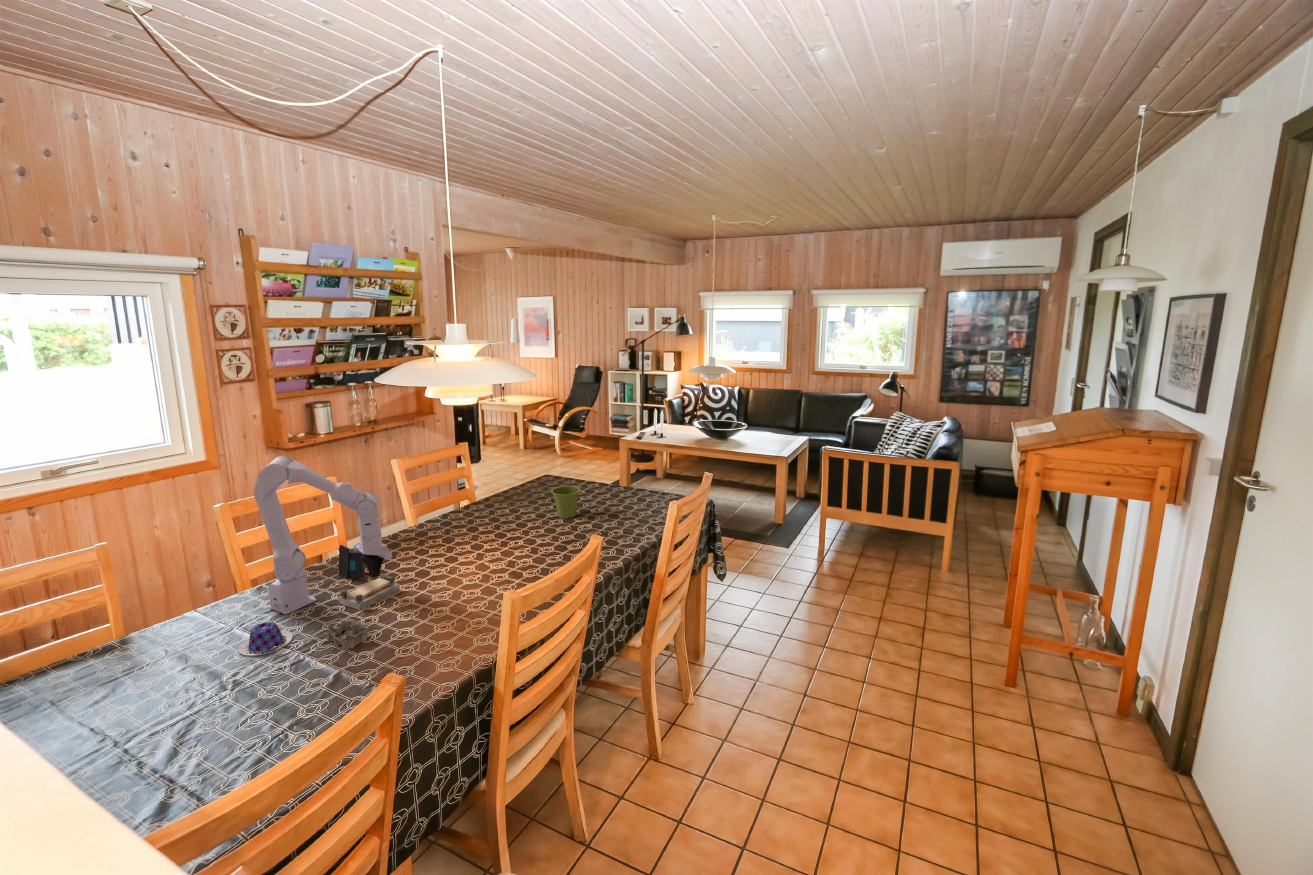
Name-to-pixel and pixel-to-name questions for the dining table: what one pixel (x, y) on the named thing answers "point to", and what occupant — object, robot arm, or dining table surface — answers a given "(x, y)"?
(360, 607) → the block
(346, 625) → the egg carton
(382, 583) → the latch bar
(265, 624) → the purple beige domed disc
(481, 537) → the dining table surface
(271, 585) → the robot arm
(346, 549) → the speaker
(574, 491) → the plant pot
